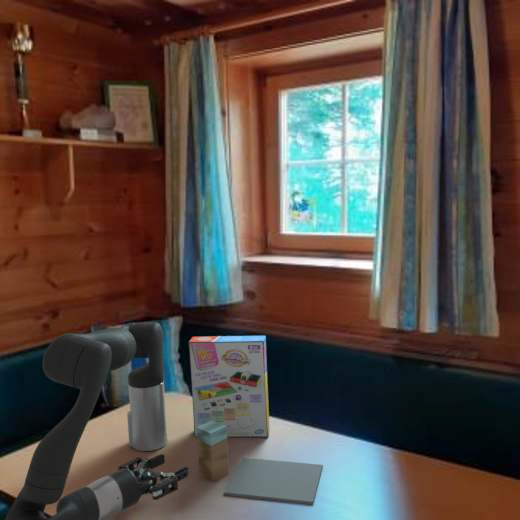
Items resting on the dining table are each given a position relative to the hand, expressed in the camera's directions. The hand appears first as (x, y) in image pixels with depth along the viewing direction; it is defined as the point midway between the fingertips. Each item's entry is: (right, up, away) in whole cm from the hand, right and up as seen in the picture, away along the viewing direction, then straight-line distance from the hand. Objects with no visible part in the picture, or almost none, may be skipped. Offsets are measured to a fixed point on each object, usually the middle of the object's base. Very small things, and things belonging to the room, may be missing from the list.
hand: (175, 464), depth 124 cm
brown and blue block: (+8, -6, +9) cm, 13 cm away
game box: (+11, -3, +31) cm, 33 cm away
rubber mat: (+22, -6, +5) cm, 24 cm away
